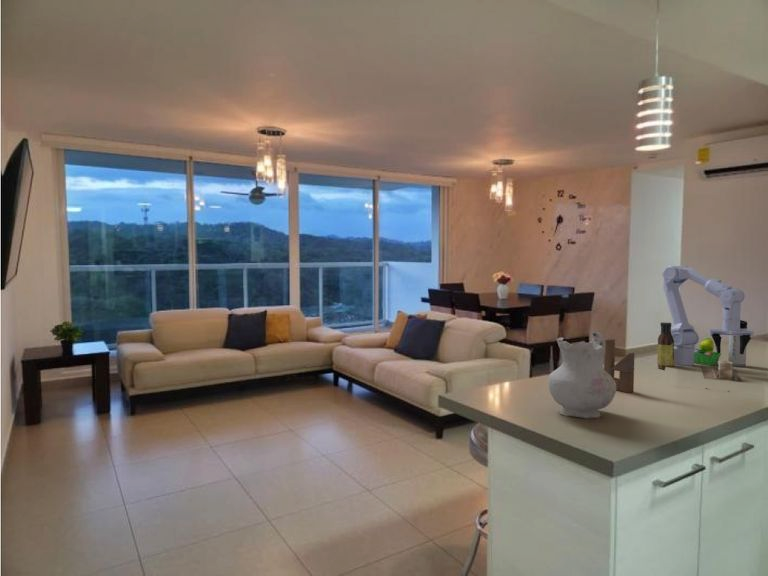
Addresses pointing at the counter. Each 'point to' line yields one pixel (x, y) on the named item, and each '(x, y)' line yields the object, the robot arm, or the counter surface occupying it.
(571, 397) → the ceramic pitcher
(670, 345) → the sauce bottle
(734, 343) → the travel mug
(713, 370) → the walnut board
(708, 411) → the counter surface
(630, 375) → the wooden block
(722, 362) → the maple block
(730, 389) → the counter surface
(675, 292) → the robot arm
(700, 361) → the fruit basket
